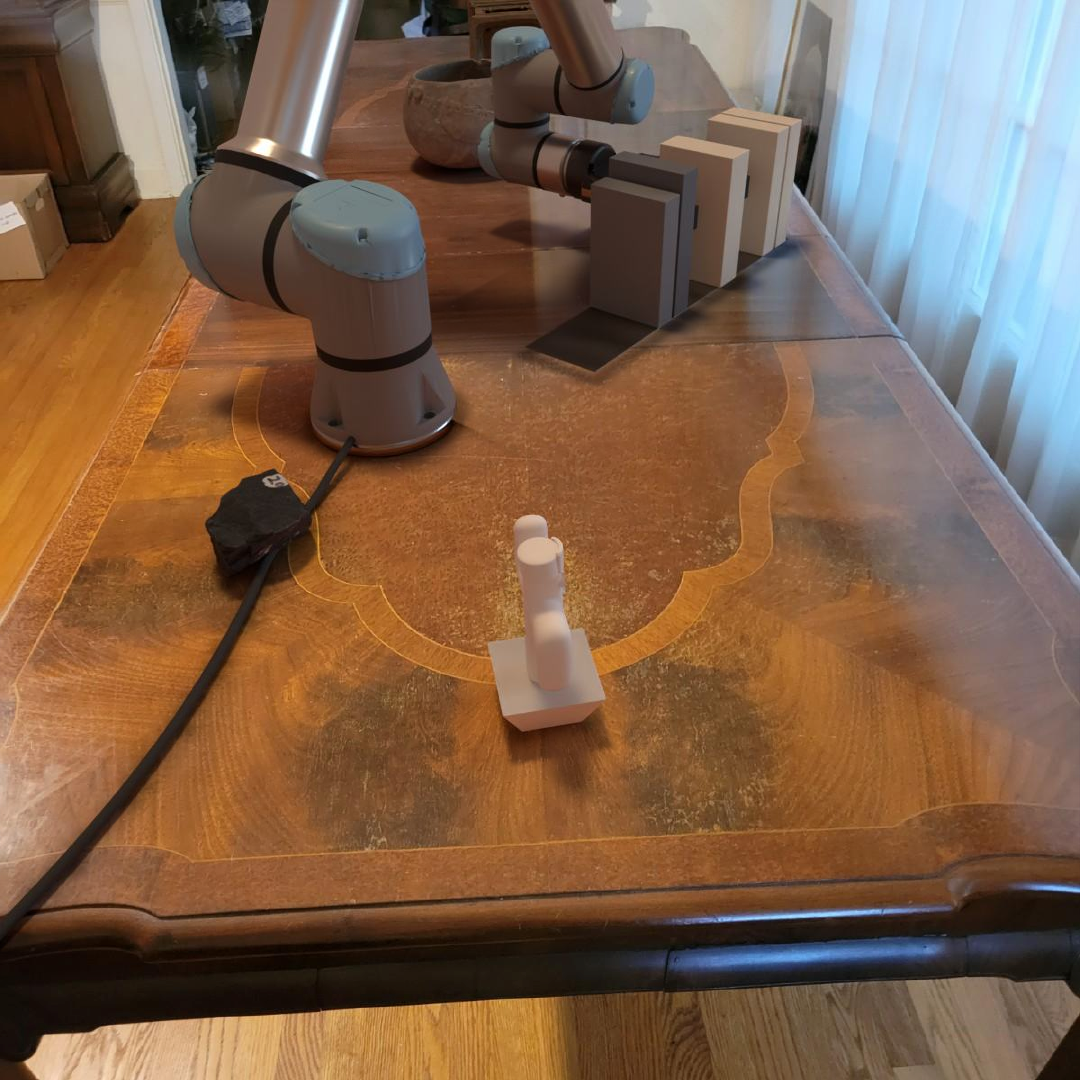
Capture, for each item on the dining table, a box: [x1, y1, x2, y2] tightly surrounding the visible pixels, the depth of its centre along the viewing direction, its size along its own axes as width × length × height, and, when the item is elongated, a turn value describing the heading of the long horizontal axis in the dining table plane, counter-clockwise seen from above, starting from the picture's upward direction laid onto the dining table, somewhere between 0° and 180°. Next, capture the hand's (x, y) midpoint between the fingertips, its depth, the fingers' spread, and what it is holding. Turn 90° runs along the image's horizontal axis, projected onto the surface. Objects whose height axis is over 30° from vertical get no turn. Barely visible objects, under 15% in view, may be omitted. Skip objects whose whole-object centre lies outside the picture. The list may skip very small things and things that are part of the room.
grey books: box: [589, 150, 698, 329], centre depth 115 cm, size 6×10×17 cm, turn 52°
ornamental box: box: [466, 0, 553, 62], centre depth 197 cm, size 35×18×18 cm, turn 5°
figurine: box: [487, 514, 607, 732], centre depth 67 cm, size 7×9×15 cm
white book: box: [659, 134, 750, 289], centre depth 122 cm, size 4×10×16 cm, turn 52°
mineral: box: [204, 468, 313, 577], centre depth 86 cm, size 10×9×6 cm
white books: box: [705, 107, 803, 257], centre depth 130 cm, size 6×10×16 cm, turn 52°
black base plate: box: [524, 237, 790, 373], centre depth 124 cm, size 46×10×1 cm, turn 142°
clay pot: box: [402, 58, 494, 169], centre depth 162 cm, size 21×21×15 cm
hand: (722, 202), depth 120 cm, fingers open, 12 cm apart
